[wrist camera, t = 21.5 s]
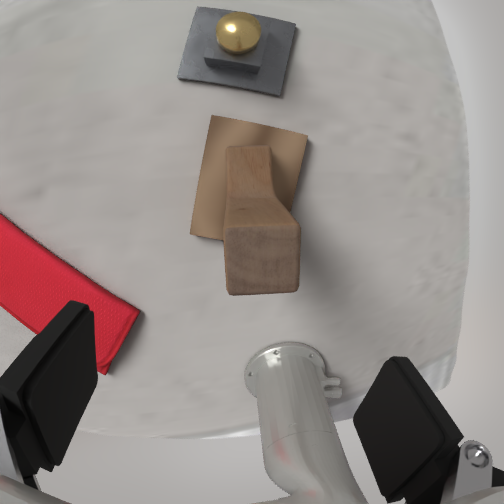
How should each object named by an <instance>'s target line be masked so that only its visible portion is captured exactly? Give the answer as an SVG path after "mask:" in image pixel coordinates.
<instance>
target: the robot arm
mask: <svg viewBox="0 0 504 504" xmlns="http://www.w3.org/2000/svg"><path fill="white" fill-rule="evenodd" d="M324 375H325V365H324V361H323V359H322V357H321V355H320V354H319V353H318V352H317V351H316V350H315V349H314V348H312V347H310V346H308V345H305V344H301V343H293V342H290V343H280V344H276V345H273V346H270V347H267V348H265V349H264V350H262V351H260V352H259V353H257V354H256V355H255V356H254V357H253V358H252V359H251V360H250V362H249V363H248V365H247V367H246V370H245V384H246V387H247V389H248V390H249V392H250V393H251V394H252V395H253V396H254V397H256V398H257V404H258V413H259V423H260V432H261V441H262V449H263V459H264V466H265V470H266V472H267V474H268V476H269V478H270V479H271V480H272V481H273V482H274V483H275V484H276V485H277V486H278V487H280V488H281V489H282V490H284V491H285V492H287V493H288V494H290V496H288V497H284V498H280V499H278V500H273V501H266V502H260V503H253V504H368V502H367V500H366V498H365V497H364V495H363V493H362V491H361V490H360V488H359V486H358V484H357V482H356V480H355V478H354V476H353V474H352V472H351V469H350V467H349V464H348V462H347V459H346V456H345V453H344V451H343V448H342V445H341V442H340V439H339V437H338V433H337V430H336V427H335V424H334V421H333V418H332V415H331V413H330V410H329V407H328V404H327V401H326V398H340V397H341V395H342V389H341V387H329V388H327V387H325V386H326V385H331V386H339V385H340V378H339V377H331V378H328V377H327V376H324ZM97 381H98V374H97V362H96V346H95V321H94V312H93V311H91V310H90V308H89V305H88V304H84V303H81V302H77V301H74V300H70V301H69V302H68V303H67V304H66V305H65V306H64V307H63V308H62V309H61V310H60V311H59V312H58V313H57V314H56V316H55V317H54V318H53V319H52V320H51V321H50V322H49V323H48V324H47V325H46V326H45V328H44V329H43V330H42V331H41V332H40V333H39V334H37V335H36V336H35V337H34V338H33V339H32V340H31V342H30V343H29V344H28V345H27V346H26V347H25V348H24V350H23V351H22V352H21V353H20V354H19V355H18V357H17V358H16V359H15V360H14V361H13V363H12V364H11V365H10V366H9V368H8V369H7V370H6V371H5V372H4V374H3V375H2V376H1V377H0V504H70V503H68V502H65V501H63V500H60V499H58V498H55V497H53V496H51V495H49V494H46V493H44V492H42V491H41V488H40V486H39V484H38V481H37V478H36V476H35V474H37V472H38V470H39V468H40V467H41V468H43V469H45V470H47V471H49V472H52V471H53V468H54V466H55V465H56V466H59V465H60V464H61V463H62V460H63V458H64V456H65V453H66V451H67V449H68V446H69V444H70V442H71V439H72V437H73V435H74V432H75V430H76V428H77V426H78V424H79V422H80V419H81V417H82V415H83V413H84V411H85V409H86V407H87V404H88V402H89V400H90V398H91V396H92V394H93V392H94V390H95V388H96V385H97ZM353 422H354V426H355V428H356V430H357V433H358V436H359V438H360V440H361V443H362V446H363V448H364V451H365V453H366V456H367V459H368V461H369V464H370V466H371V469H372V471H373V474H374V476H375V479H376V482H377V485H378V487H379V490H380V492H381V494H382V495H383V496H384V497H385V498H386V501H387V503H392V502H396V501H400V500H401V499H403V497H404V498H405V500H406V502H405V504H504V471H502V470H500V469H497V468H495V467H493V466H492V456H491V454H490V452H489V450H488V449H487V448H486V447H485V446H484V445H483V444H481V443H479V442H477V441H474V440H470V441H469V440H468V441H466V442H464V443H463V444H462V445H461V447H460V448H459V446H458V443H459V442H460V441H461V440H462V439H463V437H464V436H463V435H462V433H461V432H460V430H459V429H458V427H457V426H456V424H455V423H454V421H453V420H452V418H451V417H450V415H449V414H448V413H447V411H446V410H445V408H444V407H443V405H442V404H441V402H440V401H439V400H438V398H437V397H436V396H435V394H434V393H433V391H432V390H431V388H430V387H429V386H428V384H427V383H426V381H425V380H424V379H423V377H422V376H421V375H420V373H419V372H418V370H417V369H416V368H415V366H414V365H413V364H412V362H411V361H410V360H409V359H408V358H407V357H397V356H393V357H391V358H389V360H387V361H386V362H385V363H384V364H383V366H382V368H381V370H380V372H379V374H378V375H377V377H376V379H375V381H374V382H373V384H372V386H371V388H370V389H369V391H368V393H367V394H366V396H365V398H364V399H363V401H362V403H361V404H360V406H359V408H358V409H357V411H356V412H355V414H354V417H353Z"/></svg>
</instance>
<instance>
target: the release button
mask: <svg viewBox="0 0 504 504" xmlns="http://www.w3.org/2000/svg"><path fill="white" fill-rule="evenodd" d="M260 34H261V26H260V23H259V21H258V20H257V19H256V18H255V17H254V16H252V15H251V14H248V13H245V12H232V13H229V14H227V15H225V16H223V17H222V18H221V19H220V20H219V22H218V23H217V26H216V36H217V41H218V44H219V45H220V47H221V48H222V49H224V50H225V51H227V52H229V53H233V54H243V53H246V52H249V51H251V50H252V49H253V48H255V46H256V45H257V44H258V41H259V38H260Z"/></svg>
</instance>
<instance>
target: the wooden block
mask: <svg viewBox="0 0 504 504" xmlns="http://www.w3.org/2000/svg"><path fill="white" fill-rule="evenodd" d="M225 151H226V187H227V198H226V210H225V219H224V227H223V240H224V257H225V273H226V288H227V291H228V293H229V295H233V296H236V295H256V294H274V293H291V292H296V291H297V290H298V287H299V275H300V242H301V228H300V225H299V223H298V222H297V221H296V220H295V218H294V217H293V216H292V215H291V214H290V212H289V211H288V210H287V209H286V208H285V207H284V205H283V204H282V203H281V202H280V201H279V200H278V198H277V196H276V193H275V189H274V181H273V172H272V149H271V147H270V146H268V145H250V146H229V147H227V148H226V150H225Z"/></svg>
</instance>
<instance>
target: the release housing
mask: <svg viewBox="0 0 504 504" xmlns="http://www.w3.org/2000/svg"><path fill="white" fill-rule="evenodd" d="M232 12H237V11H231V10H223V9H216V8H207V7H197V9H196V12H195V15H194V18H193V22H192V25H191V28H190V32H189V35H188V38H187V42H186V45H185V49H184V53H183V56H182V60H181V64H180V68H179V72H178V75H177V78H178V79H183V80H191V81H199V82H206V83H213V84H219V85H225V86H231V87H236V88H242V89H247V90H252V91H257V92H262V93H266V94H271V95H275V96H280V93H281V89H282V84H283V80H284V75H285V71H286V66H287V62H288V57H289V53H290V49H291V44H292V40H293V35H294V31H295V26H296V24H295V23H291V22H287V21H283V20H279V19H274V18H270V17H265V16H260V15H255V14H251V15H252V16H254V17H255V18H256V19H257V20H258V21H259V23H260V26H261V34H260V38H259V41H258V44H257V45H256V46H255V48H253V49H252V50H251V51H249V52H246V53H243V54H233V53H229V52H227V51H225V50H224V49H222V48H221V47H220V45H219V44H218V41H217V36H216V26H217V23H218V22H219V20H220V19H221V18H222V17H223V16H225V15H227V14H229V13H232ZM248 14H249V13H248Z"/></svg>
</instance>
